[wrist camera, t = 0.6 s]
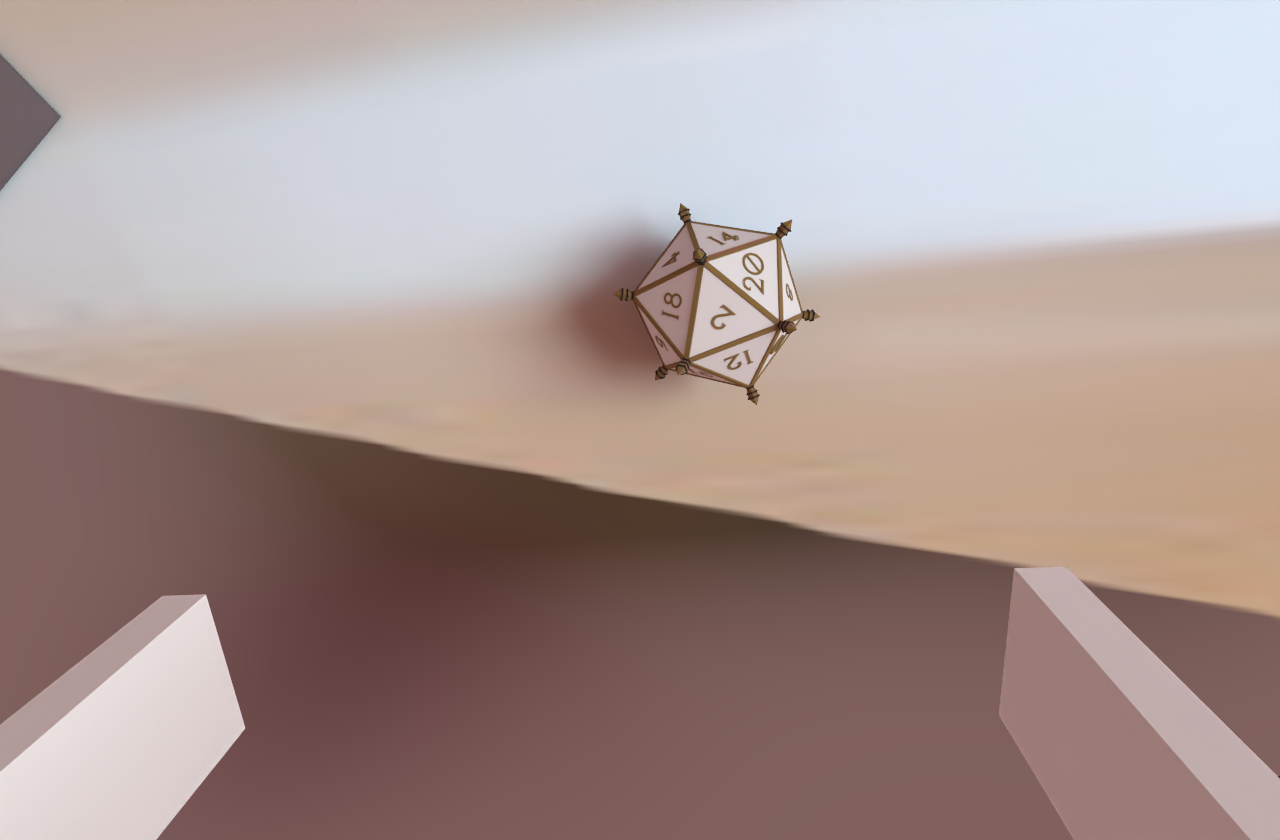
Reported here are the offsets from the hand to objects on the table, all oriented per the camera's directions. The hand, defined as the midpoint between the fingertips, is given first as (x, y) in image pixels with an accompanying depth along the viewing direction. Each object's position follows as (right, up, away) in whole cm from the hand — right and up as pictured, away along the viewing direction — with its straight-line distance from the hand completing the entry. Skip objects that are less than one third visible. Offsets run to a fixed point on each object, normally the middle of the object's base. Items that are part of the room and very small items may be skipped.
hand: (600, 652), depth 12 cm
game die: (+5, +10, +26) cm, 28 cm away
